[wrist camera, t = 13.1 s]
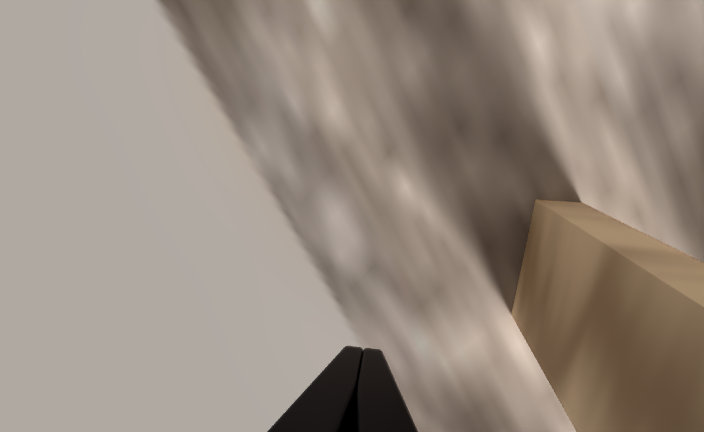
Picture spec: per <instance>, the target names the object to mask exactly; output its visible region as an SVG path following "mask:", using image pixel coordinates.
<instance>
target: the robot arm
mask: <svg viewBox="0 0 704 432" xmlns="http://www.w3.org/2000/svg"><path fill="white" fill-rule="evenodd" d="M268 432H418V430H417V428H416V426H415V424H414V422H413V419H412V417H411V415H410V413H409V410H408V408H407V406H406V404H405V401H404V399H403V397H402V395H401V393H400V390H399V388H398V386H397V384H396V381H395V379H394V377H393V375H392V372H391V370H390V368H389V366H388V363H387V361H386V359H385V357H384V355H383V352H382V351H381V350H379V349H371V348H365V349H364V350H363V349H362V348H361V347H353V346H346V347H344V348H343V349H342V350H341V352H340V353H339V354H338V355H337V356H336V357H335V358H334V359H333V361H331V363H330V364H329V365H328V366H327V367H326V368H325V369H324V370H323V371H322V373H321V374H320V375H319V376H318V377H317V378H316V379H315V380H314V381H313V382H312V383H311V385H310V386H309V387H308V388H307V389H306V390H305V391H304V392H303V393H302V394H301V396H300V397H299V398H298V399H297V400H296V401H295V402H294V403H293V404H292V405H291V406H290V408H289V409H288V410H287V411H286V412H285V413H284V414H283V415H282V416H281V417H280V419H278V421H277V422H276V423H275V424H274V425H273V426H272V427H271V428H270V429H269V430H268Z"/></svg>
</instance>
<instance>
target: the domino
mask: <svg viewBox="0 0 704 432" xmlns="http://www.w3.org/2000/svg"><path fill="white" fill-rule="evenodd" d="M511 315H512V317H513V318H514V320H515V322H516V324H517V326H518V327H519V329H520V331H521V333H522V334H523V336H524V338H525V340H526V342H527V343H528V345H529V347H530V349H531V351H532V352H533V354H534V356H535V358H536V360H537V361H538V363H539V365H540V367H541V369H542V370H543V372H544V374H545V376H546V377H547V379H548V381H549V383H550V385H551V386H552V388H553V390H554V392H555V394H556V395H557V397H558V399H559V401H560V403H561V404H562V406H563V408H564V410H565V412H566V413H567V415H568V417H569V419H570V420H571V422H572V424H573V426H574V428H575V429H576V431H577V432H704V263H703V262H701V261H699V260H697V259H695V258H693V257H691V256H689V255H687V254H685V253H683V252H681V251H679V250H677V249H675V248H673V247H671V246H669V245H667V244H665V243H663V242H661V241H659V240H657V239H655V238H653V237H651V236H649V235H647V234H645V233H643V232H641V231H639V230H637V229H635V228H632V227H630V226H628V225H626V224H624V223H622V222H620V221H618V220H616V219H614V218H612V217H610V216H608V215H606V214H604V213H602V212H600V211H598V210H596V209H594V208H592V207H590V206H588V205H586V204H584V203H582V202H568V201H551V200H535V204H534V209H533V214H532V219H531V223H530V228H529V233H528V238H527V242H526V247H525V252H524V257H523V261H522V266H521V271H520V275H519V280H518V285H517V290H516V294H515V299H514V304H513V309H512V313H511Z"/></svg>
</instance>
